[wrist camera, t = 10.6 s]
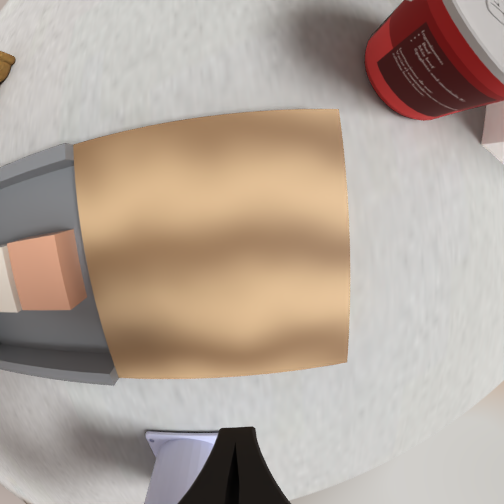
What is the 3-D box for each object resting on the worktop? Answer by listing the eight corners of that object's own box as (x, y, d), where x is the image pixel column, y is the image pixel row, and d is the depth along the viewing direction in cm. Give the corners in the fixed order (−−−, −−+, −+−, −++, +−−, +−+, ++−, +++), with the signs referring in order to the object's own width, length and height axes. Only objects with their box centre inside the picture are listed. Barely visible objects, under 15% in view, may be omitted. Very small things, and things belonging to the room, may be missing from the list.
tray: (129, 360, 21) (114, 385, 17) (2, 349, 21) (-17, 365, 17) (91, 148, 17) (64, 143, 14) (-33, 193, 17) (-58, 196, 14)
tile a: (87, 297, 19) (70, 310, 17) (40, 298, 19) (22, 310, 16) (73, 228, 18) (54, 234, 15) (26, 237, 18) (6, 243, 15)
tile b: (35, 301, 19) (17, 312, 17) (0, 301, 19) (-16, 311, 16) (21, 240, 18) (1, 247, 15) (-12, 247, 18) (-30, 253, 15)
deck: (337, 344, 21) (347, 362, 18) (129, 360, 21) (118, 377, 18) (327, 118, 17) (338, 109, 15) (91, 148, 17) (73, 144, 15)
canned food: (435, 42, 16) (518, -7, 5) (450, 130, 18) (558, 112, 7) (353, 21, 16) (419, -64, 5) (367, 116, 17) (471, 64, 7)
